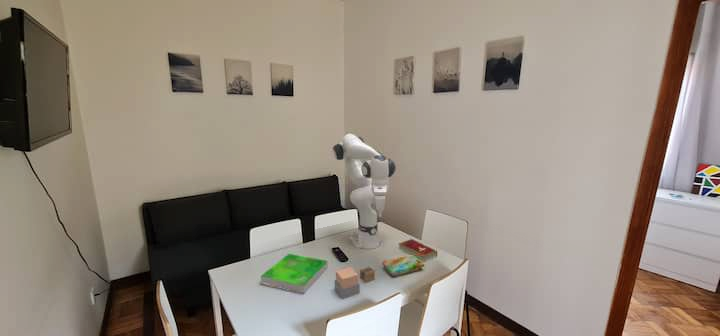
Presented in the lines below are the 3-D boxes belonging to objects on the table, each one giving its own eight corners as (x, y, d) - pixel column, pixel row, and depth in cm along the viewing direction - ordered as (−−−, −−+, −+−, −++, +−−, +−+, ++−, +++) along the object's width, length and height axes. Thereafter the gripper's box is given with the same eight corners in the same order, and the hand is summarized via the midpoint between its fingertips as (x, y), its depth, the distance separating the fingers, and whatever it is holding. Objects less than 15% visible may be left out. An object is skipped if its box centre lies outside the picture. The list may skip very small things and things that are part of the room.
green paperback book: (261, 284, 149) (260, 275, 148) (289, 261, 172) (288, 253, 171) (304, 295, 141) (304, 285, 140) (327, 269, 164) (327, 260, 163)
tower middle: (335, 280, 143) (335, 271, 142) (350, 276, 147) (350, 266, 146) (342, 289, 137) (342, 279, 136) (358, 284, 140) (358, 274, 139)
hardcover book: (411, 244, 193) (411, 238, 193) (436, 256, 177) (437, 250, 176) (398, 249, 187) (398, 243, 186) (423, 262, 170) (423, 256, 169)
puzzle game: (382, 260, 163) (412, 253, 171) (381, 268, 164) (412, 260, 172) (392, 270, 153) (424, 262, 160) (392, 278, 153) (424, 270, 161)
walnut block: (360, 277, 154) (359, 269, 153) (368, 274, 157) (368, 266, 156) (365, 283, 150) (365, 274, 149) (374, 279, 152) (374, 271, 151)
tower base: (334, 289, 145) (334, 280, 144) (350, 284, 149) (350, 275, 148) (343, 299, 137) (342, 289, 136) (359, 293, 141) (359, 283, 140)
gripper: (374, 182, 160) (374, 207, 163) (373, 192, 140) (373, 220, 143) (385, 182, 160) (385, 207, 162) (386, 192, 140) (386, 220, 142)
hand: (380, 213), depth 152 cm, fingers open, 8 cm apart
